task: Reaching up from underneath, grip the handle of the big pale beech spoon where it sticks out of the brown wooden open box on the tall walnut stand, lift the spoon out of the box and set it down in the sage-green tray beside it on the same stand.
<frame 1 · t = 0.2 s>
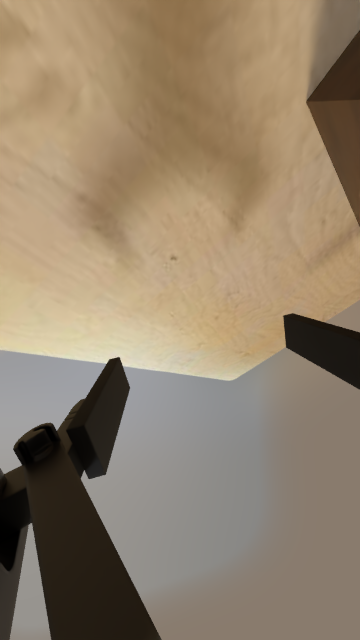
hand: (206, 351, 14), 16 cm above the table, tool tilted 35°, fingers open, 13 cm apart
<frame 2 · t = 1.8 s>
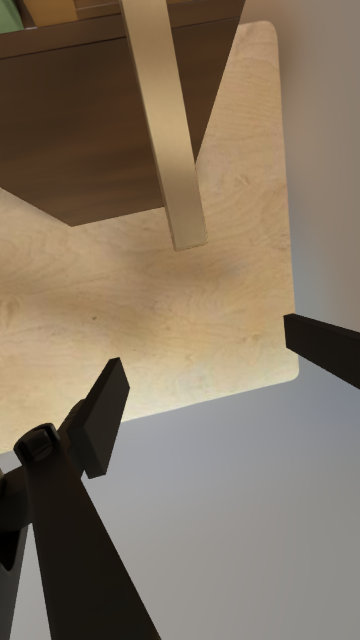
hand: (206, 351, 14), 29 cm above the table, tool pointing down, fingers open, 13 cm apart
stand: (119, 180, 36), on the table
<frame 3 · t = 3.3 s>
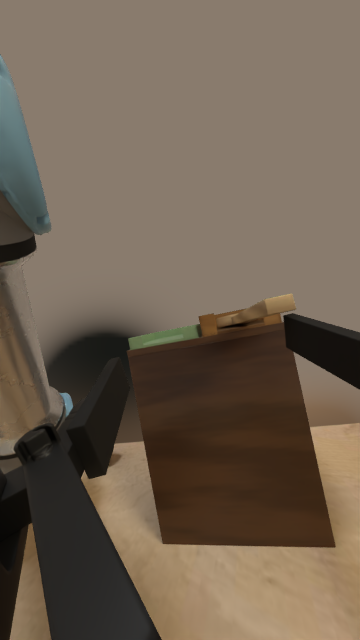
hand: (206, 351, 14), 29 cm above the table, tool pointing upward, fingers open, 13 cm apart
stand: (237, 503, 31), on the table
tray: (172, 339, 33), resting on stand
brown wooden open box: (235, 328, 31), resting on stand
spoon: (235, 324, 33), point 30 cm above the table, touching gripper
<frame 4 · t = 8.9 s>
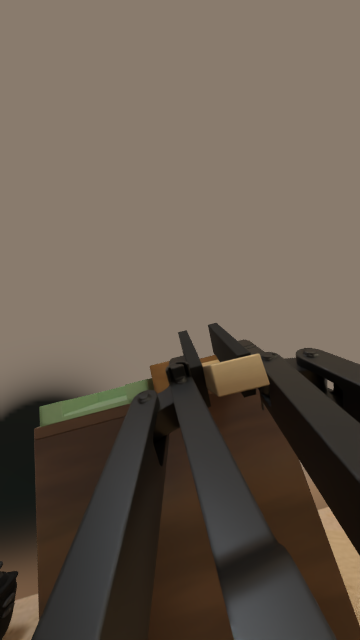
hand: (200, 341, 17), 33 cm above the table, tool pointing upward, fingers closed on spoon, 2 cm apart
tray: (117, 402, 23), resting on stand
brown wooden open box: (202, 380, 24), resting on stand
spoon: (200, 376, 26), point 29 cm above the table, touching gripper
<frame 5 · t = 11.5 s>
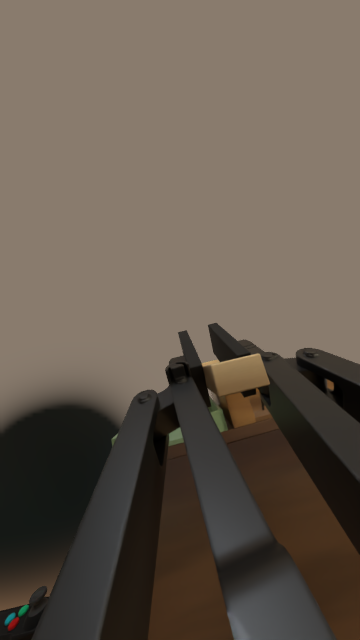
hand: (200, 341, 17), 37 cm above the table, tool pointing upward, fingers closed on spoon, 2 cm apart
tray: (175, 426, 23), resting on stand
brown wooden open box: (263, 403, 23), resting on stand
spoon: (200, 376, 26), point 34 cm above the table, touching gripper
when the fingers open (33 cm above the table, at t = 14.2 s): spoon stays where it is, resting on tray.
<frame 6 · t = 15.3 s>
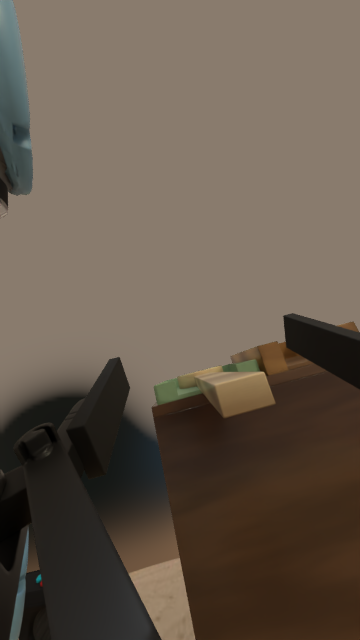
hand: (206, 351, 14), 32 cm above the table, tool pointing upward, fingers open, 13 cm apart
tray: (204, 386, 24), resting on stand
brown wooden open box: (287, 364, 24), resting on stand
spoon: (202, 382, 25), point 29 cm above the table, touching tray
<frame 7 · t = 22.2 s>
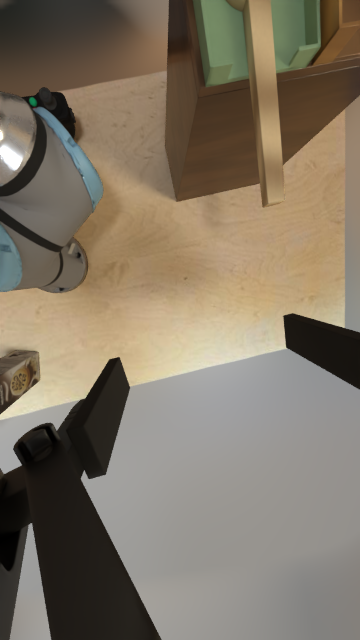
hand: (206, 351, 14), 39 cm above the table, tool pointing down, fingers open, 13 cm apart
stand: (216, 164, 45), on the table
coffee box: (28, 365, 53), on the table
controller: (57, 139, 41), on the table
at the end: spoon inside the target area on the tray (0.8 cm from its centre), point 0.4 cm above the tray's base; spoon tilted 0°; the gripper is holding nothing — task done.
